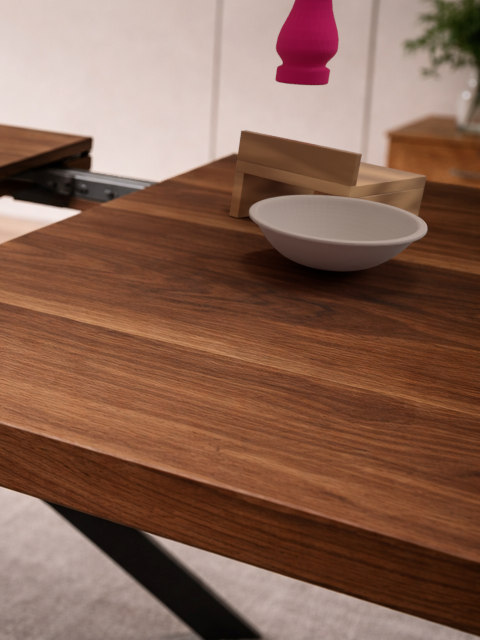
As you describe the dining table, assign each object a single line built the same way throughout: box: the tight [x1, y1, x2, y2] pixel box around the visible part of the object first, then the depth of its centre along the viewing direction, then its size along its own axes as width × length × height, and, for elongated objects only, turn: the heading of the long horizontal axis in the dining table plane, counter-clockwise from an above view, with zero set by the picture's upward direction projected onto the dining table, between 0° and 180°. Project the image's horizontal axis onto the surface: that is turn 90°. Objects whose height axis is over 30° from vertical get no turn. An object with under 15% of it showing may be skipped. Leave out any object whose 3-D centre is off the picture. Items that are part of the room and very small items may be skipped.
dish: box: [248, 194, 428, 272], centre depth 83 cm, size 18×14×5 cm
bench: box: [229, 129, 428, 219], centre depth 98 cm, size 12×14×9 cm
